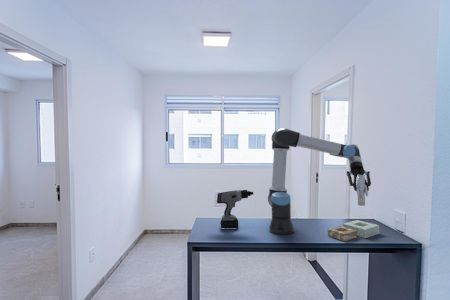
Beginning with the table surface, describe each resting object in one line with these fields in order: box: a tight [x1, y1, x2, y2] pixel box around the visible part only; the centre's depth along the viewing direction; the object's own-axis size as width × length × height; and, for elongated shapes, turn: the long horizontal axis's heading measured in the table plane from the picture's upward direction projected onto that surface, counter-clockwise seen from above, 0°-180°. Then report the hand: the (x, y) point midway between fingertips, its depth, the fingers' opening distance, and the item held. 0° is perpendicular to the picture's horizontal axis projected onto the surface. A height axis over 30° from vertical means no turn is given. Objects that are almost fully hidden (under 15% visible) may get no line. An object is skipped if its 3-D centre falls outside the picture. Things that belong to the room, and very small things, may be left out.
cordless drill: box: [216, 189, 254, 229], centre depth 179 cm, size 8×24×25 cm, turn 89°
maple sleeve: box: [327, 225, 358, 242], centre depth 158 cm, size 11×11×4 cm
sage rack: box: [342, 219, 380, 239], centre depth 164 cm, size 14×14×5 cm
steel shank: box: [356, 174, 366, 207], centre depth 163 cm, size 4×4×18 cm
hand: (362, 194), depth 160 cm, fingers closed on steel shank, 4 cm apart
